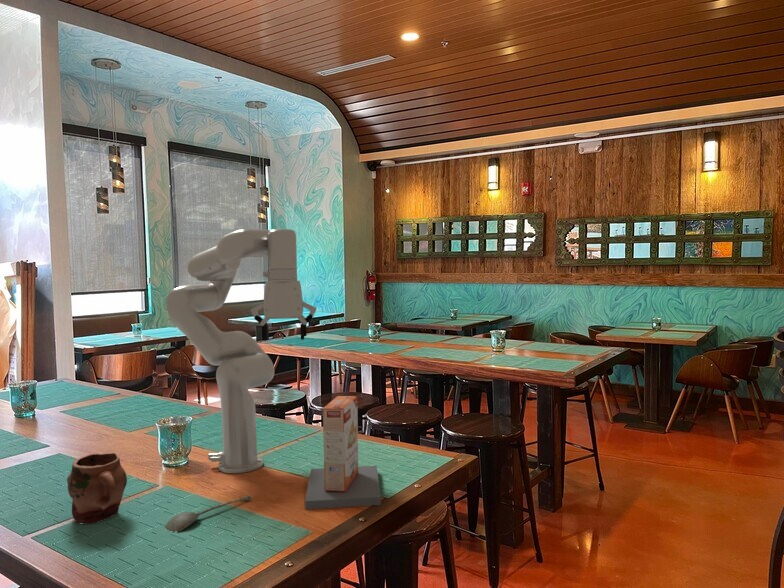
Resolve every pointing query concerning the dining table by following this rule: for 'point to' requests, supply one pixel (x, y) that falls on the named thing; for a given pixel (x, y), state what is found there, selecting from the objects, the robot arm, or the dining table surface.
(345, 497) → the serving board
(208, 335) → the robot arm
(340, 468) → the cracker box
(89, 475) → the decorative planter
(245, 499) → the soupspoon
